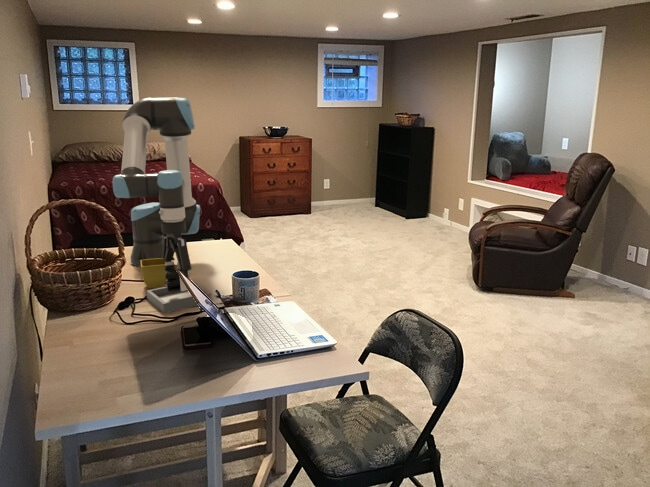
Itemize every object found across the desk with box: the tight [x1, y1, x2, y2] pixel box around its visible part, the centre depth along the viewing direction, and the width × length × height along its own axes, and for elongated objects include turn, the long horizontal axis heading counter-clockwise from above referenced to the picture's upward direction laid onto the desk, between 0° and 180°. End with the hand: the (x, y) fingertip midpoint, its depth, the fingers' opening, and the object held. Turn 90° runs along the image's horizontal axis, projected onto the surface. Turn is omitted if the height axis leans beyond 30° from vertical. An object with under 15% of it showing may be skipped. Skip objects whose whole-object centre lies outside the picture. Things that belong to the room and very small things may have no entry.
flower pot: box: [140, 258, 166, 289], centre depth 200 cm, size 9×9×9 cm
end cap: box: [165, 261, 191, 291], centre depth 185 cm, size 10×7×7 cm
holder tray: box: [146, 282, 212, 314], centre depth 187 cm, size 15×16×3 cm
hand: (178, 285), depth 186 cm, fingers closed on end cap, 11 cm apart
